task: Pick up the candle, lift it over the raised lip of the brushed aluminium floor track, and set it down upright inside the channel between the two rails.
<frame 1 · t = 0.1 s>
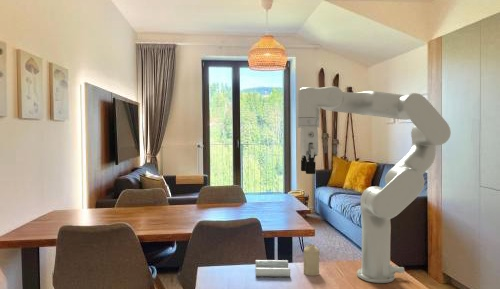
hand: (307, 172, 132), 37 cm above the table, tool pointing down, fingers open, 9 cm apart
candle: (311, 273, 136), on the table
track: (272, 272, 136), on the table
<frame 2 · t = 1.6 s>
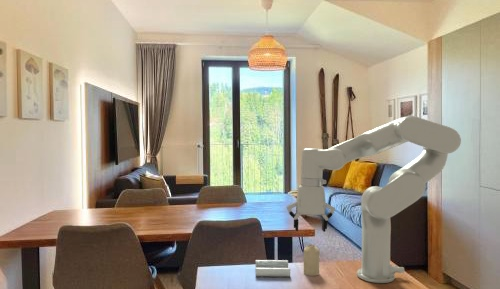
hand: (310, 230, 136), 15 cm above the table, tool pointing down, fingers open, 9 cm apart
nothing on the table moved.
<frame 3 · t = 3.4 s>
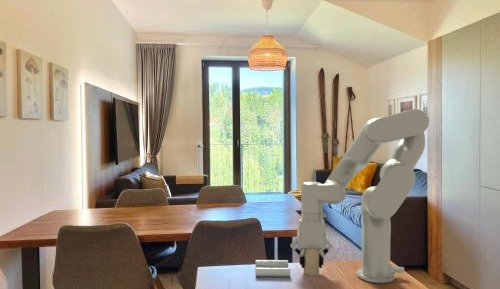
hand: (311, 266, 136), 3 cm above the table, tool pointing down, fingers closed on candle, 5 cm apart
candle: (311, 273, 136), on the table, touching gripper
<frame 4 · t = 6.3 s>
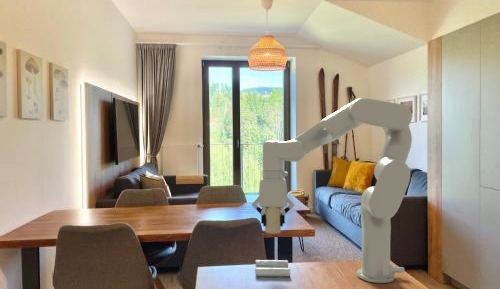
hand: (272, 225, 136), 17 cm above the table, tool pointing down, fingers closed on candle, 5 cm apart
candle: (272, 232, 136), point 15 cm above the table, touching gripper
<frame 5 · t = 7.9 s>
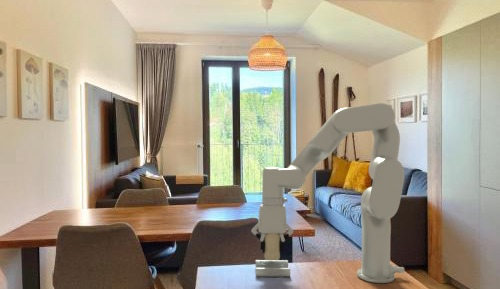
hand: (272, 251, 136), 8 cm above the table, tool pointing down, fingers closed on candle, 5 cm apart
candle: (272, 258, 136), point 5 cm above the table, touching gripper
when the fingers open (5 cm above the table, at t = 9.4 s): candle drops 1 cm, resting on track.
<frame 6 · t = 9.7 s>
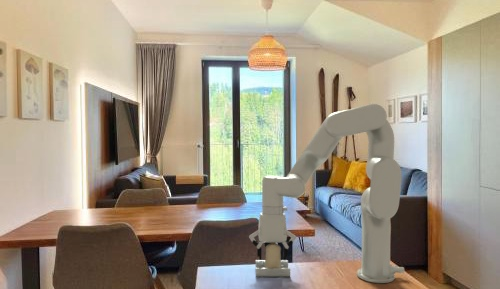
hand: (272, 258, 136), 5 cm above the table, tool pointing down, fingers open, 8 cm apart
candle: (273, 271, 136), resting on track
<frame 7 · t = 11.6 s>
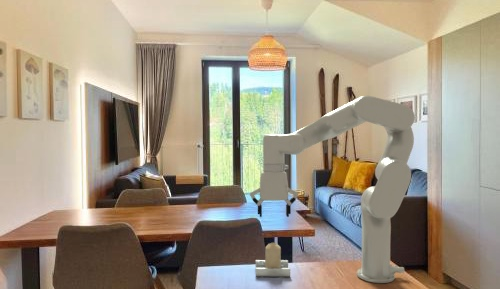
hand: (274, 216, 136), 20 cm above the table, tool pointing down, fingers open, 9 cm apart
nothing on the table moved.
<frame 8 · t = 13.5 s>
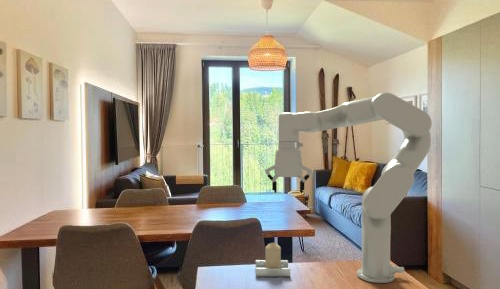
hand: (288, 192, 140), 28 cm above the table, tool pointing down, fingers open, 9 cm apart
nothing on the table moved.
at the end: candle 0.2 cm off-centre on the track, point 0.4 cm above the track's base; candle tilted 0°; the gripper is holding nothing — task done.
